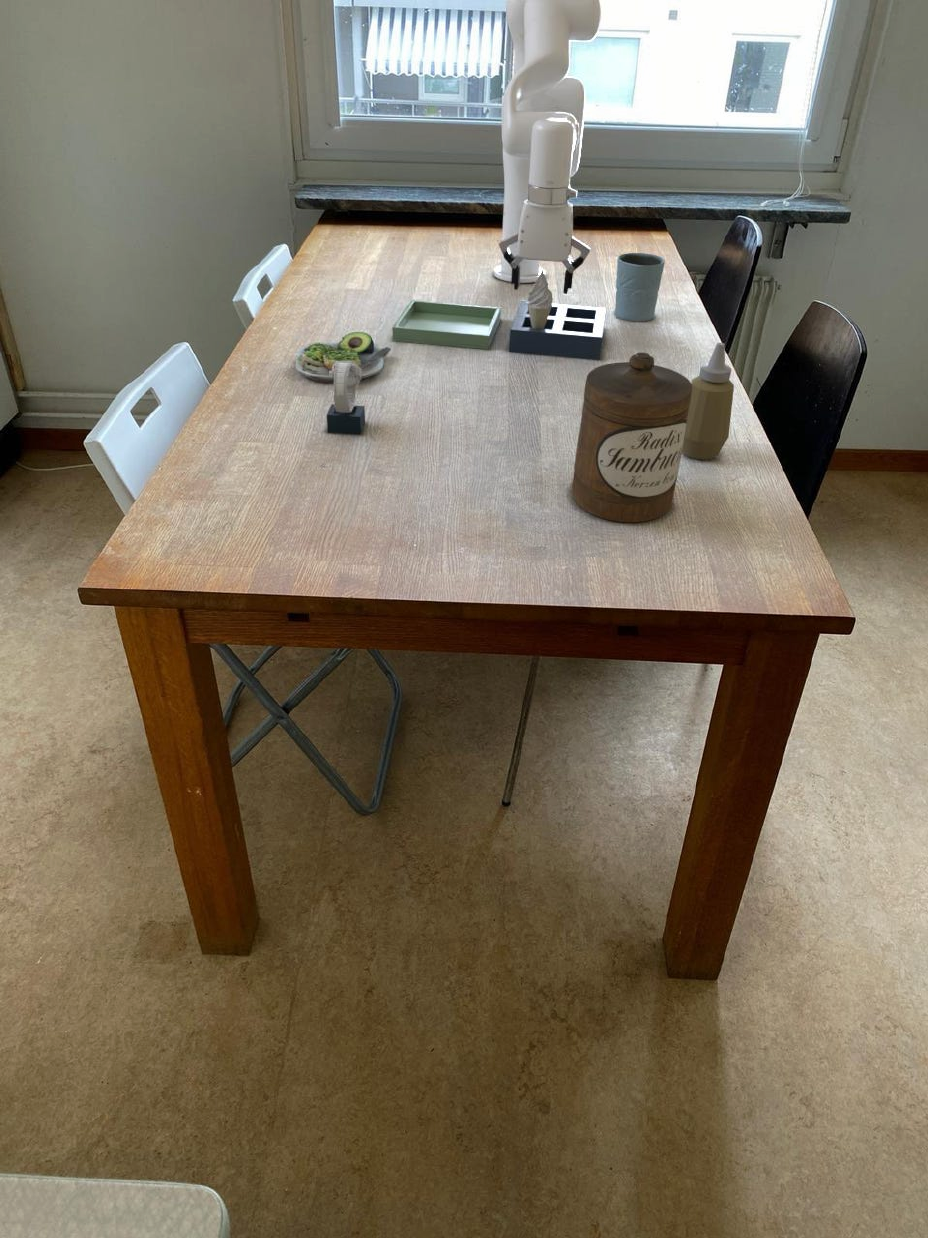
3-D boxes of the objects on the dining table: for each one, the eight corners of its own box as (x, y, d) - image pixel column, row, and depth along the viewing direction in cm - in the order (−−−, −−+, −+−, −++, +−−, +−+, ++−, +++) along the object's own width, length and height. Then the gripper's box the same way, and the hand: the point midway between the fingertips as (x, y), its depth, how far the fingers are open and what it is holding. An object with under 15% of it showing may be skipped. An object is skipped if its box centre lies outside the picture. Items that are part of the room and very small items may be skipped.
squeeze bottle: (729, 447, 151) (752, 340, 140) (718, 468, 145) (742, 357, 134) (680, 437, 153) (700, 331, 143) (668, 457, 147) (687, 347, 137)
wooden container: (603, 531, 128) (625, 381, 115) (553, 483, 139) (568, 341, 126) (692, 512, 133) (722, 366, 120) (637, 467, 144) (659, 329, 131)
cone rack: (519, 321, 197) (521, 300, 194) (603, 329, 195) (606, 307, 192) (508, 351, 183) (510, 329, 180) (599, 359, 181) (602, 337, 178)
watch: (367, 418, 156) (364, 355, 149) (359, 439, 149) (356, 374, 143) (334, 416, 156) (330, 353, 150) (325, 437, 150) (320, 372, 143)
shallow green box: (411, 312, 200) (411, 299, 198) (500, 320, 197) (500, 307, 196) (392, 340, 186) (392, 327, 184) (488, 349, 183) (488, 335, 182)
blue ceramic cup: (636, 325, 197) (644, 268, 190) (600, 312, 203) (607, 256, 196) (665, 316, 203) (674, 260, 195) (630, 304, 209) (638, 249, 201)
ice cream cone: (549, 341, 188) (555, 265, 179) (548, 350, 184) (555, 273, 175) (524, 339, 188) (530, 264, 179) (523, 348, 184) (529, 272, 175)
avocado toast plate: (389, 390, 165) (388, 365, 163) (289, 389, 165) (287, 364, 162) (391, 351, 181) (391, 328, 178) (300, 350, 180) (298, 326, 177)
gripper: (596, 194, 171) (586, 287, 181) (504, 187, 173) (499, 281, 183) (594, 202, 165) (584, 299, 175) (499, 196, 167) (494, 291, 177)
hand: (541, 289), depth 179 cm, fingers open, 9 cm apart
